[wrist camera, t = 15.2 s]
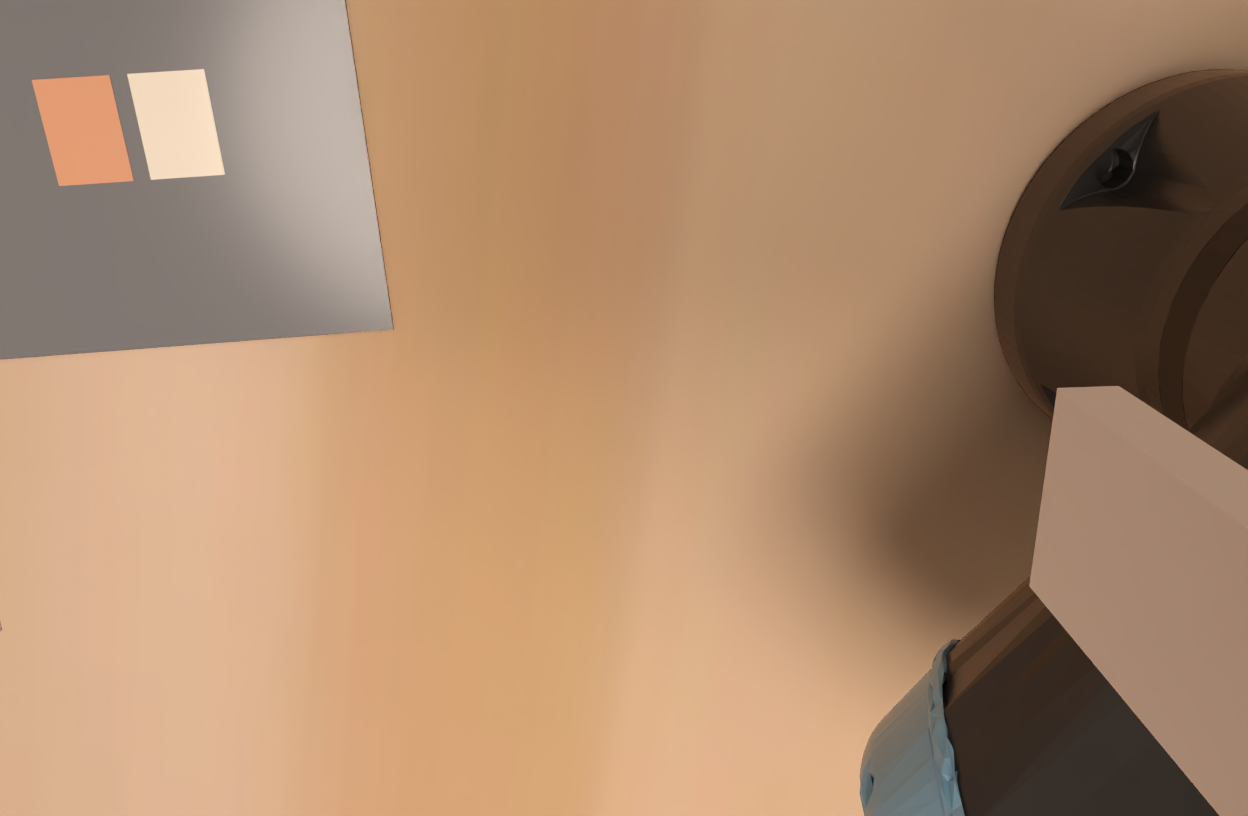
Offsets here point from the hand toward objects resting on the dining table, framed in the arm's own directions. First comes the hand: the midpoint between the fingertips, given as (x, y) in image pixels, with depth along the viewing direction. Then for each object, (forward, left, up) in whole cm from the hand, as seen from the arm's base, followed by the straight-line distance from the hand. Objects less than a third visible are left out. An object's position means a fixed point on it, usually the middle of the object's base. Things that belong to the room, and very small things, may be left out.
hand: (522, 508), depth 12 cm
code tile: (+14, -2, -27) cm, 30 cm away
